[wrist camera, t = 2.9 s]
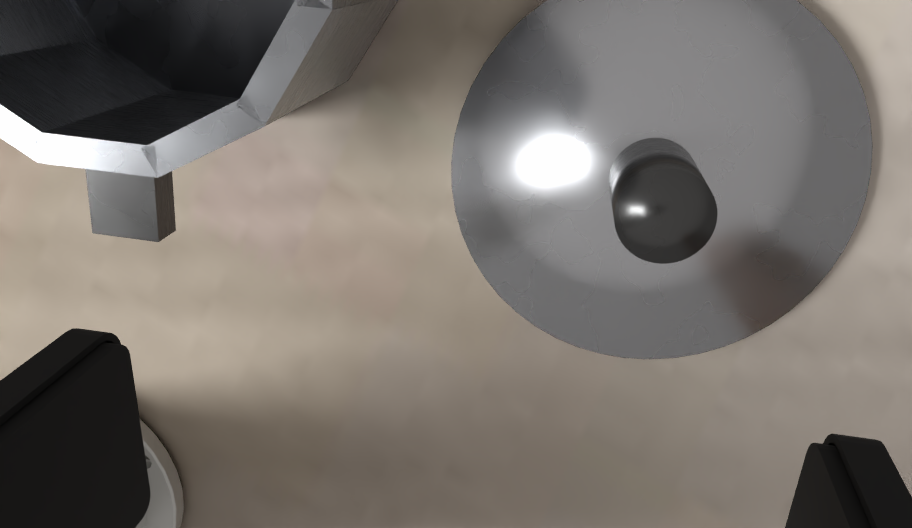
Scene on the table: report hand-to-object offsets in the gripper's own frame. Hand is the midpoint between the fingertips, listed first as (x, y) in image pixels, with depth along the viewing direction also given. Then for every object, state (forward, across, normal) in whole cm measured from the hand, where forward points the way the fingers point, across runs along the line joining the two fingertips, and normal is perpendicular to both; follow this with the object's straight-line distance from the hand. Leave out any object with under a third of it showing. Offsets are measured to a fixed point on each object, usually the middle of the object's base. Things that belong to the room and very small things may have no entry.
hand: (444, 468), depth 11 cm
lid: (+22, -4, +2) cm, 23 cm away
